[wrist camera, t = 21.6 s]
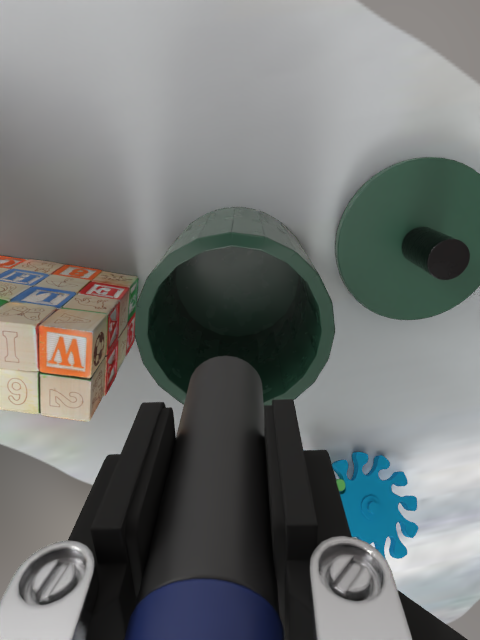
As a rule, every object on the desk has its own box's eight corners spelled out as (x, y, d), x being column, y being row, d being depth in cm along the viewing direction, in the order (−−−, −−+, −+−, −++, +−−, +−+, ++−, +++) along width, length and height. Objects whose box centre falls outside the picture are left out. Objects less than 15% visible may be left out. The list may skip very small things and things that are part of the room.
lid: (301, 243, 34) (314, 262, 28) (427, 119, 31) (472, 110, 25) (399, 341, 37) (429, 378, 31) (523, 238, 34) (584, 256, 28)
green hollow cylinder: (139, 280, 36) (94, 336, 25) (234, 174, 32) (230, 186, 22) (239, 365, 38) (238, 448, 28) (335, 276, 35) (375, 330, 25)
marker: (172, 389, 14) (27, 861, 5) (223, 338, 13) (172, 775, 4) (228, 432, 15) (198, 927, 5) (279, 386, 14) (350, 861, 5)
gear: (433, 480, 41) (407, 591, 37) (398, 482, 46) (372, 578, 42) (334, 427, 41) (296, 532, 36) (310, 434, 46) (275, 527, 42)
